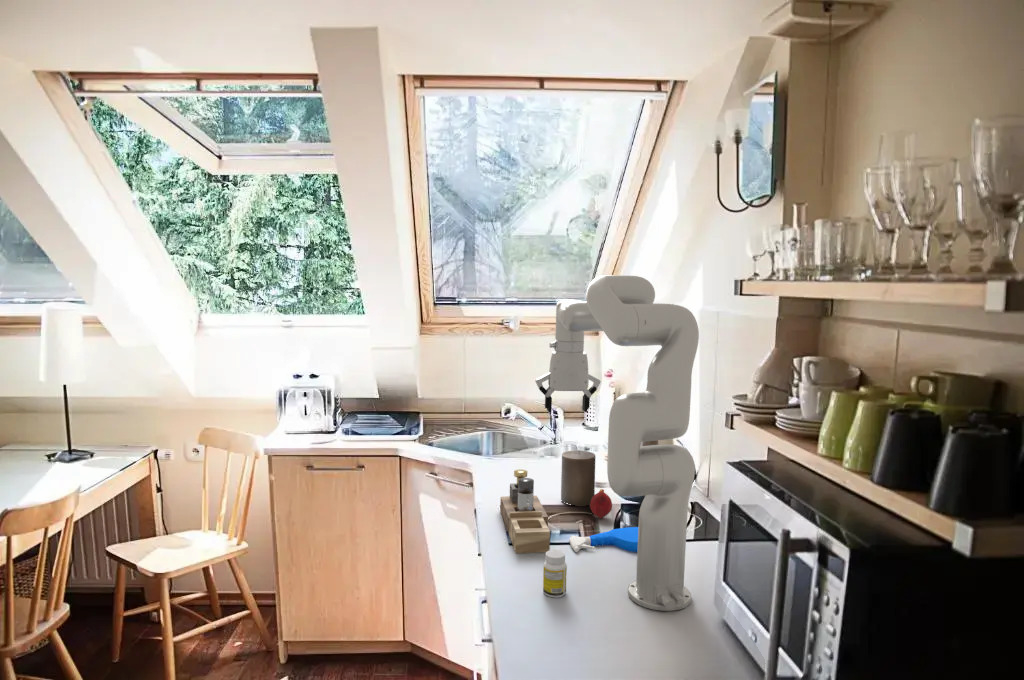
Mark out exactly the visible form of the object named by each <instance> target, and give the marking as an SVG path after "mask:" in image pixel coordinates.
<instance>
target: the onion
mask: <svg viewBox="0 0 1024 680" xmlns="http://www.w3.org/2000/svg"><path fill="white" fill-rule="evenodd" d="M589 507H590V510H591V512H592V514H594V516H595V517H597V518H599V519H603V518H604V517H606V516H607V515H609V513H611V511H612V510H613V509H612V508H613V502H612V499H611V497H610V496H609V495H608V494H607V493H606V492H605V489H603V488H600V490H599V491H598V492H597V493H595V495H594V496H593V497H592V499H591V503H590V505H589Z"/></svg>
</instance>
